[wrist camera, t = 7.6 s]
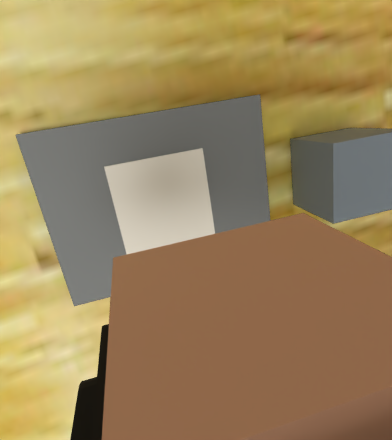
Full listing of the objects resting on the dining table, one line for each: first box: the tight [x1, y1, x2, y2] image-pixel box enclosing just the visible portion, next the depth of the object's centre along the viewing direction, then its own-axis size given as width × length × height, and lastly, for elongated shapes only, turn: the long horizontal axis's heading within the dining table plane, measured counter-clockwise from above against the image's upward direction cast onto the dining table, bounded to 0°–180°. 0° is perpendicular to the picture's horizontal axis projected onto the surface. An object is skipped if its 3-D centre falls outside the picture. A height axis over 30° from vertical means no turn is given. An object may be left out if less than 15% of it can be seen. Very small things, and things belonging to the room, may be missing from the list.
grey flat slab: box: [16, 95, 270, 306], centre depth 25 cm, size 18×14×1 cm
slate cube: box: [290, 128, 392, 224], centre depth 26 cm, size 6×6×6 cm
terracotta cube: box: [102, 213, 392, 440], centre depth 8 cm, size 6×6×6 cm
